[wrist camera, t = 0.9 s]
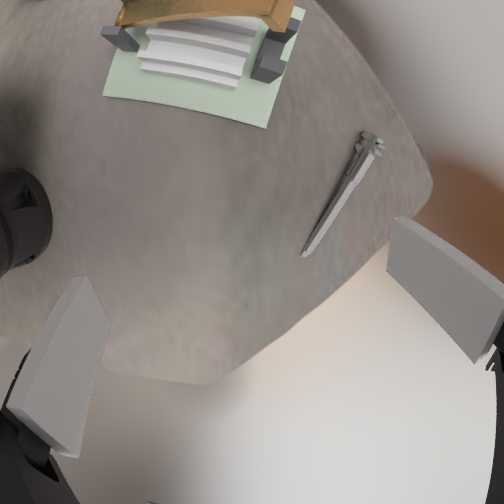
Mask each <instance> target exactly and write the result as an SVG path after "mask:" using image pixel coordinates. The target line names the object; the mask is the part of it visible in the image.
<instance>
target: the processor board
mask: <svg viewBox="0 0 504 504" xmlns="http://www.w3.org/2000/svg"><path fill="white" fill-rule="evenodd" d="M121 1H122V2H123V3H130V2H133V1H136V0H121ZM305 11H306V10H304V9H301V8H298V7H296V6H294V8H293V11H292V14H291V17H290V19H289V22H288V25H287V27H286V30H285V32H276V31H272V30H271V29H270V28H269V27H268V26H267V24H266V23H265V22H264V21H263V20H262V19H261V18H260V17H250V16H222V17H201V18H189V19H179V20H171V21H163V22H157V23H151V24H145V25H140V26H135V27H130V28H126V29H125V30H124V29H123V28H122V27H121V26H103V29H102V31H101V34H100V35H102V36H103V37H104V38H106V39H107V40H109V41H110V42H111V43H113V44H114V45H115V46H117V50H116V52H115V55H114V58H113V61H112V64H111V67H110V70H109V73H108V77H107V80H106V83H105V87H104V90H103V94H102V96H107V97H116V98H125V99H132V100H139V101H146V102H152V103H158V104H164V105H169V106H175V107H180V108H185V109H190V110H194V111H199V112H203V113H208V114H212V115H216V116H220V117H224V118H228V119H232V120H236V121H239V122H243V123H246V124H250V125H253V126H257V127H260V128H264V129H266V127H267V123H268V120H269V117H270V114H271V111H272V108H273V105H274V102H275V99H276V96H277V93H278V89H279V86H280V83H281V80H282V77H283V74H284V71H285V68H286V65H287V63H288V60H289V57H290V54H291V51H292V48H293V45H294V42H295V39H296V36H297V33H298V31H299V28H300V25H301V22H302V19H303V16H304V14H305Z"/></svg>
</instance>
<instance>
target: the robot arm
mask: <svg viewBox="0 0 504 504" xmlns="http://www.w3.org/2000/svg"><path fill="white" fill-rule="evenodd" d="M51 232H52V214H51V208H50V204H49V201H48V198H47V196H46V193H45V191H44V189H43V188H42V186H41V185H40V183H39V182H38V181H37V180H36V178H35V177H34V176H32V175H31V174H30V173H28V172H27V171H24V170H22V169H9V170H7V171H4V172H1V173H0V278H1V277H2V276H3V275H4V274H5V273H6V272H7V271H8V270H10V269H13V268H16V267H19V266H22V265H25V264H28V263H30V262H32V261H34V260H35V259H36V258H37V257H38V256H39V255H40V254H41V253H42V252H43V251H44V250H45V249H46V247H47V245H48V243H49V240H50V237H51ZM387 272H388V273H389V274H390V275H391V276H392V277H393V278H394V279H395V280H396V281H397V282H398V283H399V284H400V285H401V286H402V287H403V288H404V289H405V290H406V291H407V292H408V293H409V294H410V295H411V296H412V297H413V298H414V299H415V300H416V301H417V302H418V303H419V304H420V305H421V306H422V307H423V308H424V309H425V310H426V311H427V312H428V313H429V314H430V315H431V316H432V317H433V318H434V319H435V321H436V322H437V323H438V324H439V325H440V326H441V327H442V328H443V329H444V330H445V331H446V332H447V333H448V335H449V336H450V337H451V338H452V339H453V340H454V341H455V342H456V344H457V345H458V346H459V347H460V348H461V349H462V350H463V352H464V353H465V354H466V355H467V356H468V357H469V358H470V360H471V361H472V362H473V363H474V364H476V363H477V362H478V361H480V360H481V359H483V358H484V357H485V356H487V354H488V352H489V350H490V348H491V346H492V345H493V344H494V345H495V346H496V347H497V348H496V350H495V352H494V354H493V355H492V357H491V359H490V360H489V362H488V364H487V365H486V370H488V369H489V368H490V366H491V365H492V363H493V362H494V363H495V364H494V365H493V367H492V369H491V371H495V375H496V393H497V394H496V395H497V396H496V397H497V419H496V438H495V450H494V458H493V466H492V473H491V479H490V485H489V489H488V494H487V498H486V503H485V504H504V283H503V282H501V281H500V280H499V279H498V278H496V277H494V275H493V274H491V273H490V272H488V271H487V270H486V269H485V268H483V267H482V266H481V265H479V264H478V263H476V262H475V261H473V260H472V259H470V258H469V257H468V256H466V255H465V254H463V253H462V252H461V251H459V250H457V249H456V248H455V247H453V246H452V245H450V244H449V243H447V242H446V241H444V240H443V239H441V238H440V237H438V236H437V235H435V234H433V233H432V232H430V231H429V230H427V229H426V228H424V227H422V226H421V225H419V224H418V223H416V222H414V221H412V220H411V219H409V218H408V217H406V216H401V217H395V218H392V226H391V237H390V247H389V255H388V263H387ZM110 328H111V325H110V323H109V321H108V319H107V317H106V315H105V313H104V311H103V308H102V306H101V304H100V302H99V300H98V298H97V296H96V294H95V291H94V289H93V287H92V285H91V282H90V280H89V278H88V275H82V276H77V277H73V278H72V279H71V281H70V282H69V284H68V286H67V287H66V289H65V290H64V292H63V293H62V295H61V297H60V298H59V300H58V302H57V303H56V305H55V307H54V308H53V310H52V312H51V313H50V315H49V317H48V319H47V320H46V322H45V324H44V326H43V327H42V329H41V331H40V333H39V335H38V337H37V339H36V341H35V342H34V344H33V346H32V348H31V349H30V350H29V351H28V353H27V354H26V355H25V356H24V358H23V359H22V362H21V364H20V366H19V370H17V372H16V374H15V379H13V381H12V383H11V386H10V388H9V391H8V393H7V395H6V398H5V400H4V403H3V406H2V408H1V410H0V504H80V503H79V501H78V500H77V498H76V497H75V495H74V493H73V492H72V490H71V488H70V486H69V485H68V483H67V481H66V479H65V478H64V476H63V474H62V472H61V470H60V468H59V466H58V464H57V462H56V460H55V459H54V457H53V456H52V455H51V454H49V453H50V448H53V449H54V450H55V451H57V452H58V453H60V454H61V455H63V456H68V457H75V458H79V457H80V450H81V444H82V438H83V432H84V427H85V423H86V418H87V413H88V408H89V404H90V399H91V395H92V391H93V387H94V383H95V379H96V375H97V372H98V368H99V364H100V361H101V357H102V354H103V351H104V347H105V344H106V341H107V337H108V334H109V331H110Z"/></svg>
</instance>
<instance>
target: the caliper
mask: <svg viewBox="0 0 504 504" xmlns="http://www.w3.org/2000/svg"><path fill="white" fill-rule="evenodd" d="M360 135H361V136H363V137H364V138H365V139H366V140H368V143H367V144H366V146H365V147H363V146H362V145H360V144H359V143H357V142H356V143H355V148H356V150H357V153H358V157H357V159H356V160H355V161H354V162H353V163H352V164H351V166H350V168H349V170H348V171H347V172H346V176H347V178H346V179H345V181H344V183H343V184H342V186H341V188H340V189H339V191H338V193H337V194H336V196H335V197H334V199H333V201H332V202H331V204H330V206H329V207H328V209H327V210H326V212H325V214H324V215H323V217H322V218H321V220H320V221H319V223H318V225H317V226H316V228H315V229H314V231H313V232H312V234H311V235H310V237H309V239H308V241H307V243H306V244H305V246H304V249H303V251H302V252H301V254H300V256H301V257H304V258H306V257H307V256H308V255H309V253H310V254H311V253H312V252H313V250H314V249H315V248H316V246H317V245H318V243H319V242H320V240H321V239H322V237H323V236H324V234H325V233H326V231H327V229H328V228H329V226H330V225H331V223H332V222H333V220H334V219H335V217H336V216H337V214H338V212H339V211H340V209H341V208H342V206H343V205H344V203H345V201H346V200H347V198H348V197H349V195H350V193H351V192H352V190H353V189H354V187H355V185H356V184H357V185H358V184H359V182H360V181H361V179H362V177H363V176H364V174H365V173H366V171H367V169H368V168H369V166H370V164H371V163H372V161H373V160H374V158H375V156H374V154H377V155H379V156H381V154H380V151H379V150H378V148H379V149H385V147H383V146H382V143H383V142H384V141H382V140H381V139H380V138H379V137H377V136H376V135H374V134H373V133H369V132H361V133H360Z"/></svg>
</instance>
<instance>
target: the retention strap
mask: <svg viewBox="0 0 504 504" xmlns="http://www.w3.org/2000/svg"><path fill="white" fill-rule="evenodd" d="M294 6H295V4H294V3H293V1H292V0H136V1H133V2H130V3H124V4H123V6H122V8H121V10H120V12H119V15H118V17H117V19H116V21H115V24H114V26H121V27H122V28H123V29H124V30H125V29H126V28H130V27H135V26H140V25H145V24H151V23H157V22H163V21H171V20H179V19H189V18H201V17H222V16H250V17H260V18H261V19H262V20H263V21H264V22H265V23H266V24H267V26H268V27H269V28H270V29H271V30H272V31H276V32H285V30H286V27H287V25H288V22H289V19H290V17H291V14H292V11H293V8H294Z"/></svg>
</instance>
